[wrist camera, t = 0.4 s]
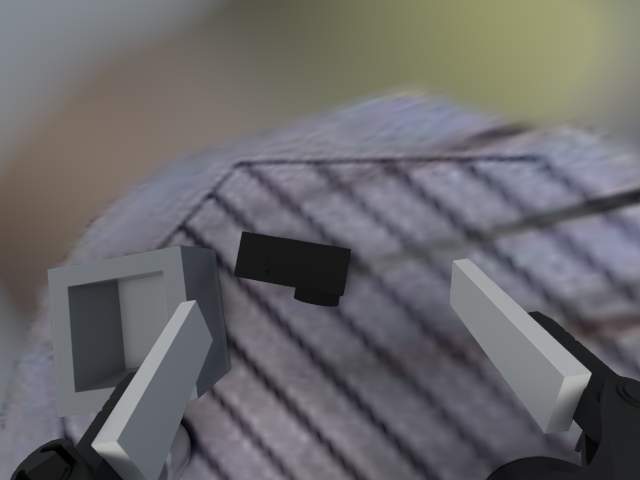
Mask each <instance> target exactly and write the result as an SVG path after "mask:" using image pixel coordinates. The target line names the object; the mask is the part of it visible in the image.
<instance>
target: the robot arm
mask: <svg viewBox="0 0 640 480" xmlns="http://www.w3.org/2000/svg"><path fill="white" fill-rule="evenodd" d="M450 305H451V307H452V308H453V309H454V311H455V312H456V313H457V315H458V316H459V318H460V319H461V320H462V322H463V323H464V324H465V326H466V327H467V328H468V330H469V331H470V332H471V334H472V335H473V337H474V338H475V339H476V341H477V342H478V343H479V345H480V346H481V347H482V349H483V350H484V352H485V353H486V354H487V356H488V357H489V358H490V360H491V361H492V362H493V364H494V365H495V367H496V368H497V369H498V371H499V372H500V373H501V375H502V376H503V377H504V379H505V380H506V382H507V383H508V384H509V386H510V387H511V388H512V390H513V391H514V392H515V394H516V395H517V396H518V398H519V399H520V401H521V402H522V403H523V405H524V406H525V407H526V409H527V410H528V411H529V413H530V414H531V416H532V417H533V418H534V420H535V421H536V422H537V424H538V425H539V426H540V428H541V429H542V431H543V432H544V433H545V434H547V433H554V432H562V431H568V430H569V428H570V425H571V423H572V421H573V419H574V421H575V422H576V423H577V424H578V425H579V426H580V428H581V429H582V430H583V431H582V433H581V435H580V438H579V440H578V442H577V444H576V448H575V451H577V452H580V450H581V458H582V468H580V467H578V466H575V465H573V464H570V463H568V462H564V461H561V460H557V459H551V458H529V459H523V460H519V461H516V462H513V463H511V464H508V465H506V466H504V467H503V468H501V469H499V470H498V471H497V472H495V473H494V474H493V475H492V476H491V477H490V478H489V479H488V480H640V382H639V381H637V380H634V379H631V378H627V377H622V376H619V375H617V374H616V373H615V372H614V371H612V370H611V369H610V368H609V367H608V366H607V365H605V364H604V363H603V362H602V361H601V360H600V359H598V358H597V357H596V356H595V355H594V354H593V353H591V352H590V351H589V350H588V349H587V348H586V347H584V346H583V345H582V344H581V343H580V342H579V341H576V340H575V338H574V337H573V336H572V335H570V334H569V333H568V332H565V329H563V328H562V327H561V326H560V325H559V324H558V323H556V322H555V321H554V320H553V319H551V318H549V317H547V316H545V315H543V314H541V313H540V312H538V311H536V312H529V313H526V312H525V311H524V310H523V309H522V308H521V307H520V306H519V305H518V304H517V303H516V302H514V301H513V300H512V299H511V298H510V297H509V296H508V295H507V294H506V293H505V292H504V291H503V290H502V289H500V288H499V287H498V286H497V285H496V284H495V283H494V282H493V281H492V280H491V279H490V278H489V277H488V276H486V275H485V274H484V273H483V272H482V271H481V270H480V269H479V268H478V267H477V266H476V265H475V264H474V263H472V262H471V261H470V260H469V259H461V260H455V261H453V266H452V280H451V294H450ZM212 341H213V339H212V336H211V334H210V332H209V329H208V327H207V325H206V322H205V320H204V318H203V315H202V313H201V311H200V308H199V306H198V304H197V301H196V300H193V301H187V302H181V303H180V305H179V307H178V308H177V310H176V311H175V313H174V315H173V316H172V318H171V319H170V321H169V322H168V324H167V326H166V327H165V329H164V330H163V332H162V334H161V335H160V337H159V338H158V340H157V341H156V343H155V345H154V346H153V348H152V349H151V351H150V353H149V354H148V356H147V357H146V359H145V360H144V362H143V364H142V365H141V367H140V368H139V370H138V371H137V372H130V373H129V374H128V375H127V376H126V377H125V378H124V379H123V380H122V381H121V382H120V383H119V384H118V385H117V386H116V388H115V389H114V391H113V392H112V394H111V395H110V397H109V400H107V401H106V403H105V404H104V406H103V407H102V411H100V412H99V413H98V415H97V416H96V418H95V419H94V421H93V422H92V424H91V425H90V426H89V428H88V429H87V431H86V432H85V434H84V435H83V437H82V438H81V440H80V441H79V443H78V444H77V446H76V447H75V448H74V447H73V446H72V445H71V444H70V443H69V442H68V441H67V440H65V439H56V440H52V441H50V442H48V443H46V444H44V445H42V446H41V447H39V448H38V449H36V450H35V451H34V452H32V453H31V454H30V455H29V456H28V457H27V458H26V459H25V460H24V461H23V462H22V463H21V464H20V465H19V466H18V468H17V469H16V470H15V472H14V473H13V475H12V477H11V479H10V480H158V478H159V475H160V473H161V470H162V468H163V465H164V463H165V460H166V458H167V455H168V452H169V450H170V447H171V445H172V442H173V440H174V437H175V435H176V432H177V430H178V427H179V425H180V422H181V419H182V417H183V414H184V412H185V409H186V407H187V404H188V402H189V399H190V397H191V394H192V392H193V389H194V387H195V384H196V381H197V379H198V376H199V374H200V371H201V369H202V366H203V364H204V361H205V359H206V356H207V354H208V351H209V348H210V346H211V343H212Z"/></svg>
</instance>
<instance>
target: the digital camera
mask: <svg viewBox="0 0 640 480" xmlns="http://www.w3.org/2000/svg"><path fill="white" fill-rule="evenodd" d="M350 251H351V249H346V248H340V247H334V246H328V245H322V244H316V243H310V242H304V241H298V240H292V239H286V238H280V237H273V236H267V235H261V234H255V233H249V232H242V235H241V241H240V246H239V251H238V257H237V262H236V267H235V272H234V275H235V276H236V277H241V278H246V279H252V280H257V281H263V282H268V283H273V284H279V285H284V286H290V287H295V288H296V289H295V294H294V298H295V299H296V300H299V301H302V302H305V303H310V304H315V305H321V306H338V304H339V298H340V296H342V295H343V293H344V288H345V282H346V276H347V270H348V264H349V257H350Z"/></svg>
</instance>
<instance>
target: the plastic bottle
mask: <svg viewBox="0 0 640 480" xmlns="http://www.w3.org/2000/svg"><path fill="white" fill-rule="evenodd" d="M190 455H191V443H190V437H189V434H188V432H187V430H186V429H185V428H184V426H183V425H182V424H180V425H179V427H178V430H177V432H176V435H175V437H174V440H173V442H172V445H171V447H170V450H169V452H168V455H167V458H166V460H165V463H164V465H163V468H162V470H161V473H160V475H159V478H158V480H179V479H180V477H181V476H182V474H183V472H184V470H185V468H186V467H187V464H188V462H189V459H190Z"/></svg>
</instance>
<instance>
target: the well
mask: <svg viewBox="0 0 640 480" xmlns="http://www.w3.org/2000/svg"><path fill="white" fill-rule="evenodd" d="M48 281H49V296H50V312H51V327H52V342H53V357H54V373H55V388H56V403H57V417H65V416H72V415H80V414H87V413H95V412H100V411H102V407H103V406H104V404H105V403H106V401H107V400H109V397H110V395H111V394H112V392H113V391H114V389H115V388H116V386H117V385H118V384H119V383H120V382H121V381H122V380H123V379H124V378H125V377H126V376H127V375H128V374H129V373H130V372H137V371H138V370H139V368H140V367H141V365H142V364H143V362H144V360H145V359H146V357H147V356H148V354H149V353H150V351H151V349H152V348H153V346H154V345H155V343H156V341H157V340H158V338H159V337H160V335H161V334H162V332H163V330H164V329H165V327H166V326H167V324H168V322H169V321H170V319H171V318H172V316H173V315H174V313H175V311H176V310H177V308H178V307H179V305H180V303H181V302H187V301H193V300H196V301H197V304H198V306H199V308H200V311H201V313H202V315H203V318H204V320H205V322H206V325H207V327H208V329H209V332H210V334H211V336H212V339H213V341H212V343H211V346H210V348H209V351H208V354H207V356H206V359H205V361H204V364H203V366H202V369H201V371H200V374H199V376H198V379H197V381H196V384H195V387H194V389H193V392H192V394H191V397H190V399H189V400H194V399H198V398H199V397H201V396H202V395H203V394H204V393H205V392H206V391H207V390H208V389H210V388H211V387H212V386H213V385H214V384H215V383H216V382H217V381H218V380H220V379H221V378H222V377H223V376H224V375H225V374H226V373H227V372H228V371H230V370H231V368H230V361H229V353H228V345H227V337H226V329H225V321H224V314H223V306H222V298H221V290H220V282H219V275H218V267H217V259H216V251H215V249H207V248H198V247H189V246H175V247H170V248H164V249H159V250H153V251H148V252H142V253H137V254H131V255H126V256H120V257H115V258H109V259H104V260H99V261H93V262H88V263H82V264H77V265H71V266H66V267H60V268H55V269H49V270H48Z"/></svg>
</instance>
